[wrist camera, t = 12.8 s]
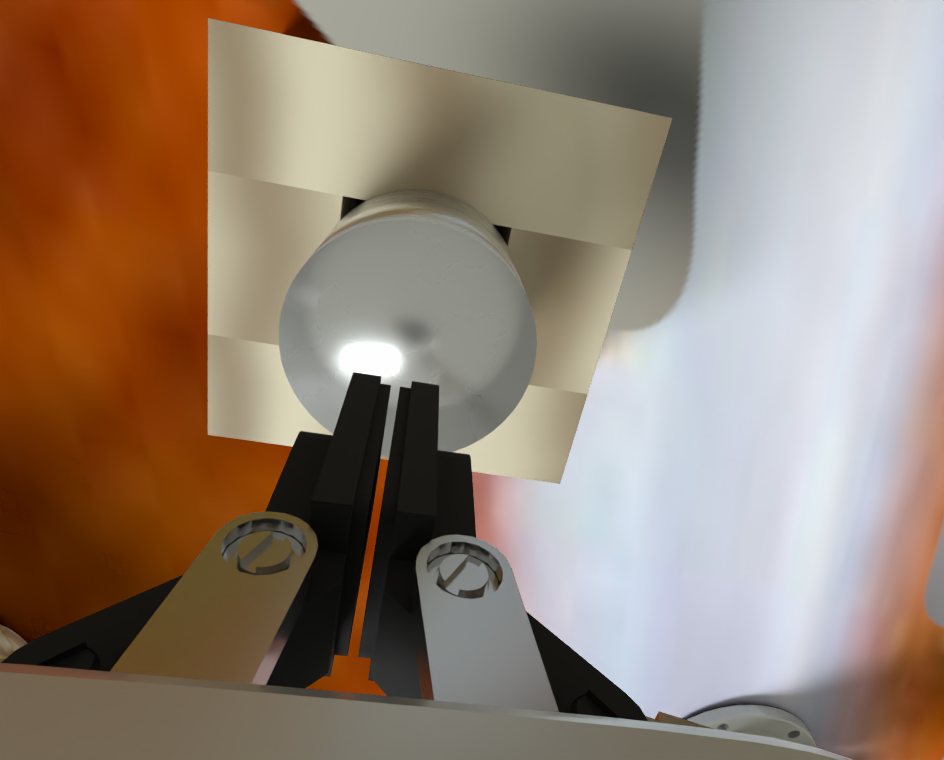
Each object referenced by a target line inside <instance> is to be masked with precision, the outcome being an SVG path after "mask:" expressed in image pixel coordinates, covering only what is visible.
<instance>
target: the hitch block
mask: <svg viewBox="0 0 944 760" xmlns="http://www.w3.org/2000/svg"><path fill="white" fill-rule="evenodd" d="M671 121H672V118H669V117H664V116H660V115H655V114H650V113H646V112H641V111H636V110H632V109H627V108H622V107H618V106H613V105H609V104H604V103H599V102H595V101H590V100H585V99H581V98H576V97H572V96H566V95H562V94H558V93H553V92H548V91H544V90H539V89H534V88H529V87H525V86H521V85H516V84H511V83H507V82H502V81H497V80H493V79H488V78H483V77H479V76H474V75H469V74H465V73H460V72H455V71H451V70H446V69H441V68H437V67H432V66H428V65H423V64H418V63H414V62H409V61H405V60H399V59H395V58H391V57H386V56H381V55H377V54H372V53H367V52H363V51H358V50H353V49H349V48H344V47H340V46H335V45H330V44H326V43H321V42H316V41H312V40H307V39H302V38H298V37H293V36H289V35H284V34H279V33H275V32H270V31H265V30H261V29H256V28H251V27H247V26H242V25H238V24H233V23H228V22H224V21H219V20H214V19H210V18H208V435H214V436H221V437H228V438H235V439H242V440H250V441H257V442H264V443H271V444H278V445H286V446H293V445H294V442H295V440H296V438H297V436H298V434H299V432H300V431H306V432H313V433H320V434H327V435H333V434H332V433H331V432H330V431H328V430H327V429H326V428H324V427H323V426H322V425H321V424H320V423H318V422H317V421H316V420H315V419H314V418H313V417H312V416H311V415H310V414H309V412H308V411H307V410H306V409H305V408H304V406H303V405H302V404H301V403H300V401H299V400H298V398H297V396H296V395H295V393H294V392H293V390H292V388H291V386H290V384H289V381H288V379H287V377H286V375H285V371H284V368H283V365H282V362H281V356H280V350H279V333H278V329H279V321H280V313H281V310H282V306H283V303H284V299H285V297H286V294H287V292H288V290H289V288H290V285H291V283H292V282H293V280H294V279H295V277H296V275H297V274H298V272H299V271H300V269H301V268H302V267H303V266H304V264H305V263H306V262H307V261H308V259H309V258H310V257H311V256H312V254H313V253H314V252H315V251H316V249H317V248H318V247H319V246H320V245H321V243H322V242H323V241H324V240H325V238H326V237H327V236H328V235H329V233H330V232H331V231H332V230H333V228H334V227H335V226H336V225H337V224H338V223H339V222H340V220H341V219H342V218H343V217H344V216H345V215H347V214H348V213H349V212H350V211H351V210H352V209H354V208H355V207H357V206H358V205H360V204H361V203H363V202H365V201H366V200H369V199H371V198H373V197H375V196H378V195H381V194H384V193H388V192H391V191H397V190H404V189H423V190H431V191H436V192H440V193H444V194H448V195H450V196H453V197H455V198H457V199H460V200H462V201H464V202H465V203H467V204H469V205H471V206H472V207H474V208H475V209H476V210H478V211H479V212H480V213H482V214H483V215H484V216H485V217H486V218H487V219H488V220H489V221H490V222H491V223H492V224H493V225H494V226H495V227H496V229H497V230H498V231H499V233H500V234H501V235H502V237H503V239H504V240H505V242H506V244H507V246H508V248H509V250H510V253H511V255H512V258H513V260H514V263H515V265H516V268H517V271H518V273H519V276H520V279H521V282H522V284H523V287H524V290H525V292H526V295H527V298H528V300H529V303H530V306H531V308H532V312H533V316H534V320H535V324H536V335H537V352H536V360H535V365H534V370H533V373H532V376H531V379H530V382H529V385H528V387H527V389H526V391H525V393H524V395H523V397H522V399H521V400H520V402H519V403H518V405H517V406H516V408H515V409H514V411H513V412H512V413H511V414H510V415H509V416H508V417H507V419H506V420H505V421H504V422H503V423H502V424H500V425H499V426H498V427H497V428H496V429H495V430H494V431H492V432H491V433H490V434H488V435H487V436H485V437H484V438H482V439H481V440H479V441H477V442H475V443H473V444H471V445H469V446H467V447H465V448H462V449H459V450H457V451H454V452H456V453H463V454H469V455H470V457H471V468H472V472H480V473H487V474H494V475H501V476H508V477H516V478H523V479H530V480H537V481H544V482H551V483H559V484H560V482H561V478H562V475H563V472H564V469H565V465H566V462H567V459H568V456H569V452H570V449H571V446H572V443H573V439H574V436H575V433H576V430H577V426H578V423H579V420H580V417H581V414H582V410H583V407H584V404H585V401H586V397H587V394H588V391H589V388H590V384H591V381H592V378H593V375H594V371H595V368H596V365H597V362H598V358H599V355H600V352H601V349H602V345H603V342H604V339H605V336H606V332H607V329H608V326H609V323H610V320H611V316H612V313H613V310H614V306H615V303H616V300H617V297H618V294H619V290H620V287H621V284H622V281H623V277H624V274H625V271H626V268H627V264H628V261H629V258H630V254H631V251H632V248H633V245H634V242H635V238H636V235H637V232H638V229H639V225H640V222H641V219H642V216H643V213H644V209H645V206H646V203H647V199H648V196H649V193H650V190H651V186H652V183H653V180H654V177H655V174H656V170H657V167H658V164H659V161H660V157H661V154H662V151H663V148H664V144H665V141H666V138H667V135H668V131H669V128H670V125H671ZM380 459H386V460H389V456H385V455H381V457H380Z"/></svg>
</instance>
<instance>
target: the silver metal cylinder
mask: <svg viewBox="0 0 944 760" xmlns="http://www.w3.org/2000/svg"><path fill="white" fill-rule="evenodd" d="M278 333H279V350H280V356H281V362H282V365H283V368H284V371H285V375H286V377H287V379H288V381H289V384H290V386H291V388H292V390H293V392H294V393H295V395H296V396H297V398H298V400H299V401H300V403H301V404H302V405H303V406H304V408H305V409H306V410H307V411H308V412H309V414H310V415H311V416H312V417H313V418H314V419H315V420H316V421H317V422H318V423H320V424H321V425H322V426H323V427H324V428H326V429H327V430H328V431H330V432H331V433H332V434H333V433H334V430H335V427H336V424H337V421H338V418H339V414H340V411H341V408H342V405H343V402H344V399H345V396H346V393H347V390H348V386H349V383H350V380H351V377H352V374H353V372H356V373H363V374H370V375H376V376H381V384H387V385H391V390H390V397H389V403H388V410H387V417H386V424H385V430H384V437H383V444H382V451H381V455H385V456H389V454H390V448H391V441H392V435H393V428H394V422H395V416H396V409H397V403H398V396H399V390H400V387H407V388H411V383H412V381H415V382H422V383H428V384H435V385H439V422H438V450H441V451H448V452H454V451H457V450H459V449H462V448H465V447H467V446H469V445H471V444H473V443H475V442H477V441H479V440H481V439H482V438H484V437H485V436H487V435H488V434H490V433H491V432H492V431H494V430H495V429H496V428H497V427H498V426H499V425H500V424H502V423H503V422H504V421H505V420H506V419H507V417H508V416H509V415H510V414H511V413H512V412H513V411H514V409H515V408H516V406H517V405H518V403H519V402H520V400H521V399H522V397H523V395H524V393H525V391H526V389H527V387H528V385H529V382H530V379H531V376H532V373H533V370H534V365H535V360H536V352H537V335H536V324H535V320H534V316H533V312H532V308H531V306H530V303H529V300H528V298H527V295H526V292H525V290H524V287H523V284H522V282H521V279H520V276H519V273H518V271H517V268H516V265H515V263H514V260H513V258H512V255H511V253H510V250H509V248H508V246H507V244H506V242H505V240H504V239H503V237H502V235H501V234H500V233H499V231H498V230H497V229H496V227H495V226H494V225H493V224H492V223H491V222H490V221H489V220H488V219H487V218H486V217H485V216H484V215H483V214H482V213H480V212H479V211H478V210H476V209H475V208H474V207H472V206H471V205H469V204H467V203H465V202H464V201H462V200H460V199H457V198H455V197H453V196H450V195H448V194H444V193H440V192H436V191H431V190H423V189H404V190H397V191H391V192H388V193H384V194H381V195H378V196H375V197H373V198H371V199H369V200H366V201H365V202H363V203H361V204H360V205H358V206H357V207H355V208H354V209H352V210H351V211H350V212H349V213H348V214H347V215H345V216H344V217H343V218H342V219H341V220H340V222H339V223H338V224H337V225H336V226H335V227H334V228H333V230H332V231H331V232H330V233H329V235H328V236H327V237H326V238H325V240H324V241H323V242H322V243H321V245H320V246H319V247H318V248H317V249H316V251H315V252H314V253H313V254H312V256H311V257H310V258H309V259H308V261H307V262H306V263H305V264H304V266H303V267H302V268H301V269H300V271H299V272H298V274H297V275H296V277H295V279H294V280H293V282H292V283H291V285H290V288H289V290H288V292H287V294H286V297H285V299H284V303H283V306H282V310H281V313H280V321H279V329H278Z"/></svg>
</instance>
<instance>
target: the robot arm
mask: <svg viewBox="0 0 944 760" xmlns="http://www.w3.org/2000/svg"><path fill="white" fill-rule="evenodd" d="M390 390H391V385H387V384H381V376H376V375H370V374H363V373H356V372H353V374H352V377H351V380H350V383H349V386H348V390H347V393H346V396H345V399H344V402H343V405H342V408H341V411H340V414H339V418H338V421H337V424H336V427H335V430H334V433H333V435H327V434H320V433H313V432H306V431H300V432H299V434H298V436H297V438H296V440H295V442H294V445H293V447H292V450H291V452H290V454H289V457H288V459H287V461H286V464H285V466H284V469H283V471H282V473H281V476H280V478H279V480H278V483H277V485H276V488H275V490H274V492H273V495H272V497H271V499H270V502H269V504H268V506H267V509H266V511H265V512H256V513H251V514H247V515H244V516H240V517H238V518H236V519H234V520H232V521H230V522H228V523H226V524H225V525H224V526H223V527H222V528H221V529H219V530H218V531H217V532H216V533H215V534H214V536H213V537H212V538H211V540H210V541H209V542H208V544H207V545H206V546H205V548H204V549H203V550H202V551H201V553H200V554H199V555H198V557H197V558H196V559H195V561H194V562H193V563H192V565H191V566H190V567H189V568H188V570H187V571H186V572H185V574H184V575H182V576H180V577H177V578H175V579H173V580H170V581H168V582H166V583H163V584H161V585H159V586H156V587H154V588H152V589H150V590H147V591H145V592H143V593H140V594H138V595H136V596H133V597H131V598H129V599H127V600H124V601H122V602H120V603H117V604H115V605H113V606H110V607H108V608H106V609H103V610H101V611H99V612H97V613H94V614H92V615H90V616H87V617H85V618H83V619H80V620H78V621H76V622H74V623H71V624H69V625H67V626H64V627H62V628H60V629H57V630H55V631H53V632H50V633H48V634H46V635H44V636H41V637H39V638H37V639H35V640H33V641H31V642H30V643H28V644H26V645H24V646H22V647H20V648H19V649H17V650H16V651H14V652H13V653H12V654H11V655H10V656H8V657H7V658H2V659H0V760H854V759H850V758H847V757H844V756H841V755H838V754H835V753H832V752H829V751H826V750H823V749H820V748H817V745H816V743H815V741H814V739H813V737H812V735H811V733H810V732H809V730H808V728H807V727H806V726H805V724H804V723H803V722H802V721H801V720H799V719H798V718H797V717H795V716H794V715H792V714H790V713H788V712H786V711H784V710H781V709H777V708H773V707H769V706H762V705H734V706H727V707H721V708H717V709H713V710H710V711H706V712H703V713H701V714H698V715H696V716H693V717H691V718H689V719H687V720H685V719H681V718H678V717H675V716H672V715H669V714H665V713H662V712H658V714H657V716H656V718H655V719H653V718H649V717H646V716H645V715H644V714H643V712H642V710H641V709H640V707H639V706H638V705H637V704H636V703H635V702H634V701H633V700H632V699H631V698H630V697H629V696H628V695H627V694H626V693H625V692H623V691H622V690H621V689H620V688H619V687H617V686H616V685H615V684H614V683H613V682H611V681H610V680H609V679H608V678H606V677H605V676H604V675H603V674H602V673H600V672H599V671H598V670H597V669H596V668H594V667H593V666H592V665H591V664H589V663H588V662H587V661H586V660H585V659H583V658H582V657H581V656H580V655H579V654H577V653H576V652H575V651H574V650H572V649H571V648H570V647H569V646H568V645H566V644H565V643H564V642H563V641H561V640H560V639H559V638H558V637H557V636H555V635H554V634H553V633H552V632H551V631H549V630H548V629H547V628H546V627H544V626H543V625H542V624H541V623H540V622H538V621H537V620H536V619H535V618H534V617H532V616H531V615H530V614H529V613H527V612H526V610H525V607H524V604H523V601H522V598H521V595H520V592H519V589H518V586H517V583H516V580H515V577H514V574H513V570H512V568H511V566H510V564H509V562H508V560H507V559H506V557H505V556H504V555H503V554H502V553H501V552H500V551H499V550H498V549H497V548H495V547H494V546H492V545H490V544H489V543H487V542H485V541H483V540H480V539H477V538H476V529H475V514H474V498H473V483H472V468H471V457H470V455H469V454H463V453H456V452H448V451H441V450H438V422H439V385H435V384H428V383H422V382H415V381H412V383H411V388H407V387H400V390H399V396H398V403H397V409H396V416H395V422H394V428H393V435H392V441H391V448H390V454H389V461H388V467H387V473H386V480H385V486H384V493H383V499H382V506H381V512H380V519H379V525H378V532H377V538H376V545H375V551H374V558H373V564H372V571H371V577H370V584H369V590H368V597H367V603H366V610H365V616H364V623H363V629H362V636H361V642H360V649H359V655H358V657H364V658H371V664H370V671H369V679H368V680H372V681H375V683H376V684H377V685H378V686H379V687H380V688H381V689H382V690H383V691H384V692H385V694H386V695H387V696H381V695H370V694H359V693H348V692H337V691H326V690H315V689H305V688H306V687H308V686H309V685H311V684H312V683H314V682H315V681H317V680H318V679H320V678H321V677H323V676H329V677H330V675H331V670H332V665H333V660H334V655H343V656H347V655H348V650H349V644H350V638H351V632H352V626H353V621H354V615H355V609H356V603H357V598H358V592H359V586H360V580H361V574H362V569H363V563H364V557H365V551H366V545H367V540H368V534H369V528H370V522H371V516H372V511H373V504H374V498H375V491H376V484H377V478H378V471H379V464H380V457H381V451H382V444H383V437H384V430H385V424H386V417H387V410H388V403H389V397H390Z"/></svg>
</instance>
